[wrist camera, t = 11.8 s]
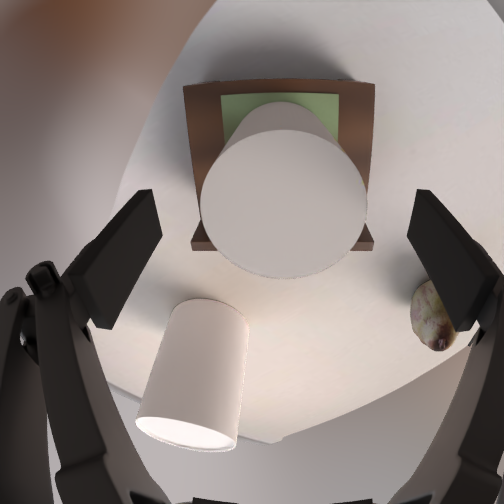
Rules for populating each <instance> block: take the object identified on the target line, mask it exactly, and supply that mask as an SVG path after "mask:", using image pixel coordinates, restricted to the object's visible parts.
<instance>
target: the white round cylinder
mask: <svg viewBox="0 0 504 504" xmlns="http://www.w3.org/2000/svg"><path fill="white" fill-rule="evenodd" d="M200 210H201V217H202V222H203V225H204V228H205V230H206V233H207V235H208V237H209V238H210V240H211V242H212V243H213V245H214V246H215V247H216V249H217V250H218V251H219V252H220V253H221V254H222V255H223V256H224V257H225V258H226V259H228V260H229V261H230V262H231V263H233V264H234V265H236V266H238V267H239V268H241V269H243V270H245V271H248V272H250V273H253V274H256V275H259V276H263V277H267V278H275V279H294V278H301V277H306V276H309V275H313V274H316V273H318V272H321V271H323V270H325V269H327V268H329V267H330V266H332V265H334V264H335V263H337V262H338V261H339V260H340V259H342V258H343V257H344V256H345V255H346V254H347V253H348V252H349V251H350V250H351V248H352V247H353V246H354V245H355V243H356V241H357V240H358V238H359V236H360V234H361V232H362V230H363V227H364V224H365V220H366V215H367V195H366V189H365V186H364V183H363V180H362V177H361V175H360V173H359V171H358V170H357V168H356V166H355V165H354V164H353V162H352V161H351V160H350V158H349V157H348V155H347V154H346V153H345V151H344V150H343V149H342V148H341V146H340V145H339V144H338V142H337V141H336V140H335V139H334V137H333V136H332V135H331V133H330V132H329V131H328V130H327V128H326V127H325V126H324V125H323V124H322V122H321V121H320V120H319V119H318V118H317V117H316V116H315V115H314V114H313V113H312V112H311V111H309V110H308V109H306V108H304V107H302V106H300V105H297V104H294V103H290V102H272V103H267V104H264V105H262V106H259V107H257V108H256V109H254V110H253V111H251V112H250V113H249V114H248V115H247V116H246V117H245V118H244V119H243V120H242V122H241V123H240V124H239V126H238V127H237V129H236V130H235V132H234V133H233V135H232V136H231V138H230V139H229V141H228V142H227V144H226V145H225V147H224V148H223V150H222V151H221V153H220V155H219V156H218V158H217V159H216V161H215V162H214V164H213V166H212V167H211V169H210V170H209V172H208V174H207V176H206V179H205V181H204V184H203V187H202V192H201V199H200Z"/></svg>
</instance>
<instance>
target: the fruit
mask: <svg viewBox="0 0 504 504" xmlns="http://www.w3.org/2000/svg"><path fill="white" fill-rule="evenodd" d="M410 317H411V324H412V329H413V331H414V333H415V334H416V335H417V336H418V337H419V339H420V340H421V342H422V343H423V344H425V345H427V346H428V347H429V348H430V349H432V350H434V351H444V350H446V349H448V348H449V347H450V346H451V345H452V344H453V343H454V341H455V340H456V338H457V336H458V334H459V332H455V330H454V327H453V325H452V323H451V321H450V318H449V316H448V314H447V312H446V310H445V307H444V305H443V303H442V301H441V299H440V297H439V295H438V293H437V291H436V289H435V287H434V285H433V283H432V281H431V280H429V281H427V282H426V283H424V284H422V285H421V286H419V288H418V289H417V290H416V292H415V293H414V295H413V297H412V301H411V310H410Z"/></svg>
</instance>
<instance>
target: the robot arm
mask: <svg viewBox="0 0 504 504" xmlns="http://www.w3.org/2000/svg"><path fill="white" fill-rule="evenodd" d="M162 236H163V235H162V231H161V226H160V222H159V218H158V214H157V210H156V205H155V201H154V197H153V192H152V189H147V190H138V191H137V192H136V194H135V195H134V196H133V197H132V198H131V199H130V200H129V201H128V202H127V203H126V204H125V205H124V206H123V207H122V209H121V210H120V211H119V212H118V213H117V214H116V215H115V216H114V217H113V219H112V220H111V221H110V222H109V223H108V224H107V225H106V227H105V228H104V229H103V230H102V231H101V232H100V234H99V235H98V236H97V237H96V238H95V239H94V240H92V241H91V242H90V243H88V244H87V245H86V246H85V247H84V248H83V249H82V250H81V252H80V253H79V255H77V257H76V258H75V259H74V261H73V262H72V263H71V264H70V266H69V267H68V268H67V269H66V270H65V272H64V273H63V274H62V276H61V277H60V276H59V274H58V272H57V270H56V268H55V266H54V264H53V262H51V261H44V262H41V263H39V264H37V265H35V266H34V267H33V268H32V269H31V270H30V271H29V272H28V273H27V275H26V278H25V279H26V281H27V283H28V285H29V286H30V288H31V290H32V292H33V293H34V295H29V296H26V295H25V293H24V291H23V290H22V288H20V287H15V288H13V289H10V290H9V291H7V292H6V293H5V295H4V296H3V297H2V299H1V301H0V504H54V500H53V493H52V485H51V477H50V468H49V456H48V441H47V414H48V419H49V422H50V427H51V431H52V435H53V439H54V442H55V446H56V449H57V453H58V456H59V459H60V463H61V469H60V470H59V471H58V472H57V473H56V474H55V482H56V487H57V489H58V492H59V495H60V497H61V500H62V503H63V504H171V502H170V501H169V499H168V497H167V496H166V494H165V493H164V492H163V490H162V489H161V488H160V486H159V485H158V484H157V483H156V482H155V481H154V480H153V479H152V477H151V476H150V475H149V473H148V471H147V470H146V468H145V466H144V465H143V462H142V460H141V458H140V457H139V455H138V453H137V451H136V449H135V447H134V445H133V443H132V441H131V439H130V436H129V434H128V432H127V430H126V428H125V426H124V423H123V421H122V419H121V416H120V414H119V412H118V409H117V407H116V405H115V402H114V400H113V397H112V395H111V392H110V389H109V387H108V384H107V381H106V379H105V376H104V373H103V370H102V367H101V364H100V361H99V358H98V355H97V352H96V349H95V345H94V342H93V339H92V335H91V332H90V329H89V328H88V326H87V323H88V321H89V319H90V318H91V319H92V321H93V323H94V324H95V326H96V328H102V329H109V330H112V328H113V326H114V324H115V322H116V320H117V318H118V316H119V314H120V312H121V310H122V308H123V306H124V304H125V302H126V300H127V299H128V297H129V295H130V293H131V291H132V289H133V287H134V285H135V284H136V282H137V280H138V278H139V276H140V274H141V273H142V271H143V269H144V267H145V265H146V264H147V262H148V260H149V258H150V257H151V255H152V253H153V251H154V250H155V248H156V246H157V245H158V243H159V241H160V239H161V238H162ZM407 238H408V239H409V241H410V243H411V244H412V246H413V248H414V250H415V251H416V253H417V255H418V257H419V259H420V260H421V262H422V264H423V266H424V268H425V270H426V271H427V273H428V275H429V277H430V279H431V281H432V283H433V285H434V287H435V289H436V291H437V293H438V295H439V297H440V299H441V301H442V303H443V305H444V307H445V310H446V312H447V314H448V316H449V318H450V321H451V323H452V325H453V327H454V330H455V332H462V331H469V330H470V329H471V328H472V326H473V324H474V323H475V321H476V320H477V321H478V323H479V325H480V327H479V329H478V330H477V332H476V333H475V335H474V336H473V338H472V339H471V341H470V342H469V344H468V346H470V345H471V344H472V343H473V345H472V348H471V351H470V354H469V357H468V360H467V363H466V366H465V369H464V372H463V374H462V377H461V380H460V382H459V385H458V387H457V390H456V392H455V395H454V397H453V400H452V402H451V404H450V407H449V409H448V411H447V413H446V415H445V417H444V419H443V422H442V424H441V426H440V428H439V430H438V432H437V434H436V436H435V437H434V439H433V441H432V443H431V445H430V447H429V449H428V450H427V453H426V454H425V456H424V458H423V459H422V461H421V462H420V464H419V466H418V467H417V469H416V471H415V472H414V474H413V475H412V477H411V478H410V480H409V481H408V482H407V483H406V484H405V485H404V486H403V487H401V488H400V489H399V490H398V492H397V493H396V494H395V495H394V496H393V497H392V499H391V500H390V501H389V503H388V504H494V502H495V500H496V498H497V496H498V499H497V503H496V504H504V475H503V479H502V477H501V476H499V475H498V474H497V468H498V465H499V462H500V460H501V456H502V454H503V451H504V275H503V274H502V272H501V271H500V269H499V268H498V267H497V265H496V264H495V263H494V261H492V258H491V257H490V256H489V255H488V253H487V252H486V251H485V249H484V248H483V247H482V246H481V245H480V244H479V243H478V242H476V241H475V240H474V239H472V238H471V236H470V235H469V234H468V233H467V231H466V230H465V229H464V228H463V227H462V225H461V224H460V223H459V222H458V221H457V220H456V218H455V217H454V216H453V215H452V214H451V213H450V212H449V210H448V209H447V208H446V207H445V206H444V205H443V204H442V203H441V202H440V201H439V200H438V198H437V197H436V196H435V195H434V194H433V193H432V192H431V191H430V190H422V189H417V192H416V197H415V202H414V207H413V211H412V216H411V220H410V224H409V229H408V233H407ZM20 336H21V337H22V338H23V340H24V344H23V345H21V341H20ZM499 491H500V492H499ZM498 494H499V495H498ZM178 504H237V503H230V502H221V501H214V500H207V499H201V498H195V497H193V501H192V502H183V503H178ZM334 504H376V503H373V502H372V499H366V500H360V501H353V502H344V503H334Z"/></svg>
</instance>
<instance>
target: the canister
mask: <svg viewBox="0 0 504 504" xmlns="http://www.w3.org/2000/svg"><path fill="white" fill-rule="evenodd" d="M248 339H249V325H248V323H247V321H246V319H245V318H244V316H243V315H242V314H241V313H240V312H238V311H237V310H236V309H234V308H233V307H231V306H229V305H227V304H225V303H222V302H219V301H215V300H210V299H191V300H187V301H184V302H182V303H180V304H178V305H177V306H176V307H175V308H174V309H173V311H172V313H171V316H170V319H169V322H168V324H167V327H166V330H165V333H164V336H163V338H162V341H161V344H160V347H159V350H158V353H157V356H156V359H155V361H154V364H153V367H152V370H151V373H150V376H149V379H148V383H147V386H146V389H145V392H144V395H143V398H142V401H141V404H140V408H139V411H138V414H137V417H136V422H135V424H136V425H137V427H138V428H139V429H140V430H141V431H143V432H144V433H146V434H147V435H149V436H151V437H153V438H155V439H157V440H159V441H162V442H164V443H167V444H170V445H173V446H177V447H180V448H185V449H190V450H195V451H203V452H223V451H228V450H232V449H234V448H235V447H236V442H237V433H238V425H239V417H240V408H241V400H242V391H243V383H244V374H245V365H246V357H247V348H248Z"/></svg>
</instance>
